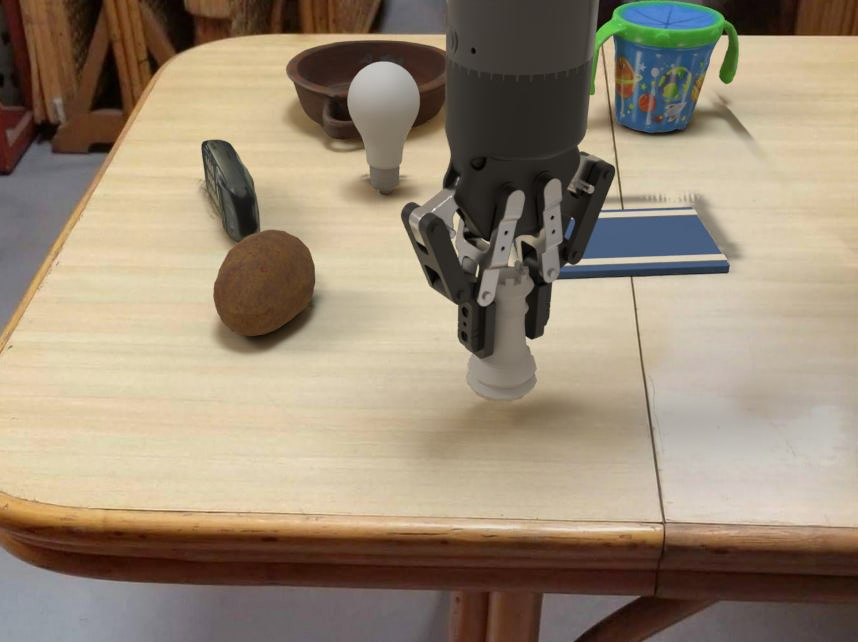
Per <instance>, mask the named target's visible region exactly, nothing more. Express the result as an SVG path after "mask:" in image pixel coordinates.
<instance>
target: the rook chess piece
mask: <svg viewBox="0 0 858 642" xmlns="http://www.w3.org/2000/svg"><path fill="white" fill-rule="evenodd" d="M533 287H534V283H533V280H532V279H531V277H530V276H529V269H528V266H524V267H523V262H521V261H518V259H516V260H515V261H514V263H513V266H510V265H509V263H508V264H507V265H506V266H505V267H502V268H501V270H500V274H499V278H498V283H497V288H496V293H495V297H494V299H493V301H494V302H495V303H496V314H495V335H494V352H493V355H491V356H489V357H486V358H483V359H480V358H478V357H477V356H476V355H474V354H473V353H471V356H470V357H469V358H468V362H467V364H466V365H467V371H468V372H467V374H466V376H465V380H466V384H467V386H468V387H469V388H470V390H472V391H473V392H474V393H475V395H476V396H477V397H480V398H482V399H483V400H486V401H492V402H497V403H505V402H507V403H508V402H510V403H511V402H514V401H517V400H521V399H523V398H524V397H525V396H526V395H528V394H529V393H530V392H531V391H533V389H534V388H535V386H536V384H537V382H538V378H537V375H536V372H537V370H538V368H537V363H536V360H535V356H534V355H533V354H532V352H531V348H530V346H529V345H528V344H527V337H526V336H525V324H524V322H525V314H526V313H527V311H528V309H529V307H528V303H527V302H526V301H525V298H526V296H527V295H528V294H529V293H530V292H531V291H532V289H533Z"/></svg>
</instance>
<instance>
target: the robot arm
mask: <svg viewBox="0 0 858 642" xmlns="http://www.w3.org/2000/svg"><path fill="white" fill-rule="evenodd" d="M599 6H600V0H446V3H445V51H446V67H445V102H444V132H445V136H446V139H447V143H448V148H449V153H450V158H449V163H448V166H447V169H446V171H445V173H444V176H443V179H442V190H440V191H439V192H438V193H437V194H435V195H434V196H433V197H432V198H430V199H429V200H428V201H427V202H425V203H424V204H423V205H421V204H418V203H417V202H414V201H410V202H407V203H406V204H405V205H403V207H402V209H401V213H400V220H401V222H402V224H403V226H404V229H405V232H406V233H407V236H408V238H409V241H410V244H411V246H412V248H413V250H414V253H415V255H416V258H417V260H418V262H419V265H420V267H421V269H422V272H423V275H424V276H425V279H426V282H427V283H428V284H427V285H428V286H429V287H430V288H431V289H432V290H434V291H435V292H437V293H439V294H440V295H441V296H442V297H444V298H446V299H447V300H449V301H450V302H452V303H453V304H455V305H456V306H457V339H458V341H459V344H461V345H462V346H464V348H465V349H466V350H467V351H468V352H470V353H471V354H474V355H476V356H477V357H478V358H480V359H483V358H486V357H489V356H491V355H493V352H494V335H495V314H496V303H495V302H494V301H493V299H494V297H495V293H496V288H497V283H498V278H499V274H500V270H501V268H502V267H505V266H506V265H507V264H508V265H509V260H510V256H511V251H512V247H513V243H514V241H513V240H514V239H516V245H517V250H516V253H517V260H518V261H521V262H523V267H524V266H528V269H529V276H530V277H531V279H532V280H533V283H534V287H533V289H532V291H531V292H530V293H529V294H528V295H527V296H526V298H525V301H526V302H527V303H528V307H529V309H528V311H527V313H526V314H525V322H524V324H525V336H526V339H529V340H531V341H533V340H536V339H538V338H541V337H543V336H544V335H545V327H546V326H547V325H548V322H549V319H550V316H551V315H550V314H551V302H552V291H553V282H555V281H556V280H557V279H556V278H557V277H558V275H559V273H560V268H562V267H563V266H564V265H566V264H567V263H569V264H571V265H575V264H577V263H579V262H580V260H581V259H582V257H583V255H584V252H585V250H586V247H587V245H588V242H589V240H590V237H591V234H592V232H593V229H594V227H595V224H596V222H597V219H598V217H599V214H600V212H601V210H603V206H604V204H605V201H606V199H607V196H608V195H609V191H610V189H611V186H612V183H613V181H614V178H615V177H616V167H615V165H613V164H612V163H610V162H607V161H606V160H604V159H602V158H600V157H598V156H597V155H594V154H590V153H588V152H586V151H584V150H583V151H582V150H581V151H580V148H579V145H580V144H581V143H582V142H583V140H584V139H585V136H586V134H587V129H588V120H589V119H588V118H589V108H590V99H591V95H590V90H591V80H592V69H593V59H594V49H595V39H596V33H597V29H598V18H599V9H600V7H599ZM455 214H457V215H458V216H459V219H458V225H457V230H456V229H455V227H454V226H455V223H454V217H455ZM571 218H573V219H574V220H575V225H574V227H573V230H572V233H571V235H570V238H569V239H568V238H566V237H564V236H565V234H566V231H567V229H568V226H569V223H570V221H571ZM453 239H455V240H454V241H455V242H454V243H453V241H452V240H453ZM454 244H455V246H454ZM457 253H458V254H457Z"/></svg>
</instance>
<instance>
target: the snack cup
mask: <svg viewBox="0 0 858 642" xmlns="http://www.w3.org/2000/svg"><path fill="white" fill-rule="evenodd" d="M723 32H725V33H726V34H727V41H728V43H727V49H726V51H725V54H724V58H723V61H722V63H721V66H720V68H719V72H718V78H719V80H720V81H721V82H722V83H723V84H725V85H729V84H731V83H732V82H733V81H734V78H735V76H736V74H737V70H738V65H739V58H740V57H739V56H740V46H739V45H740V43H739V36H738V33H737V30H736V28H735V26H734V25H733V24H732V23H731V22H729V21H727V20H725V17H724V15H723V14H722V13H721V12H720V11H717V10H716V9H713V8H710V7H707V6H703V5H701V4H696V3H690V2H683V1H674V0H642V1H641V0H640V1H634V2H629V3H625V4H622V5H620V6H618V7H616V8H615V9H614V10H613V13H612V17H611V19H610V20H609V21H607V22H606V23H603V25H602V26H601V27H600V28H599V29H598V30H597V31H596V39H595V49H594V59H593V69H592V80H591V90H590V96H594V95H595V94H596V84H595V81H596V74H597V71H598V69H597V68H598V62H599V56H600V49H601V47H602V46H603V45H604V44H605V43H606V42H607V41H608V40H609V39H610V38H612V39H613V44H614V112H615V113H614V114H615V118H616V121H617V123H618V124H619V125H623V126H625V127H627V128H629V129H631V130H635V131H639V132H645V133H648V134H653V133H668V132H671V131H674V130H680V131H681V130H685V129H686V127H687V125H688V124H689V122H690V121H691V120H692V118H693V116H694V113H695V110H696V107H697V103H698V100H699V98H700V94H701V91H702V88H703V85H704V82H705V80H706V75H707V73H708V72H707V71H708V69H709V66H710V62H711V57H712V54H713V52H714V50H715V47H716V45H717V44H718V42H719V41H720V39H721V37H722V35H723Z"/></svg>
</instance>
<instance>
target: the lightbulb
mask: <svg viewBox="0 0 858 642" xmlns="http://www.w3.org/2000/svg"><path fill="white" fill-rule="evenodd" d="M419 106H420V96H419V90H418V87H417V85H416V83H415V81H414V79H413V78H412V76H411V75H410V74H409V73H408V71H406V70H405V69H404V68H402V67H401V66H399V65H397V64H394V63H391V62H376V63H373V64H370V65H368V66H366V67H365V68H363V69H362V70H361V71H359V73H358V74H357V75H356V76H355V78H354V79H353V81H352V83H351V85H350V88H349V92H348V109H349V113H350V116H351V118H352V120H353V122H354V124H355V126H356V128H357V129H358V131H359V133H360V135H361V137H360V138H361V140H362V142H363V145H364V150H365V156H366V157H365V158H366V164H367V165H368V166H369V167H368V168H369V181H370V186H371V187H372V188H373V189H375V190H376V191H378V192H379V193H381V194H389V193H391V192H392V190H394V189H396V188H398V186H399V185H400V169H401V167H400V166H401V164H402V163H403V154H404V149H405V148H404V147H405V143H406V141H407V138H408V134H409V132H411V129H412V128H411V127H412V125H413V123H414V121H415V119H416V117H417V115H418V111H419Z"/></svg>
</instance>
